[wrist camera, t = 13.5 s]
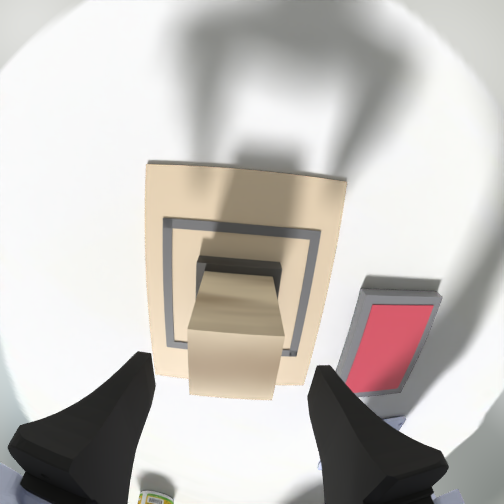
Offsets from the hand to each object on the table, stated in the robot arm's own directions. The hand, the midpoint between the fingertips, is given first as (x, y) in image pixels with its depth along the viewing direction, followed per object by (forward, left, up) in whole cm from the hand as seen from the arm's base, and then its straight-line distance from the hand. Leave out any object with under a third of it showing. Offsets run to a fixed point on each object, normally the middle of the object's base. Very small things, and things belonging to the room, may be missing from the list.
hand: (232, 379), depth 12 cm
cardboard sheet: (0, 0, -8) cm, 8 cm away
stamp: (0, 0, -8) cm, 8 cm away
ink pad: (-4, -12, -8) cm, 15 cm away
